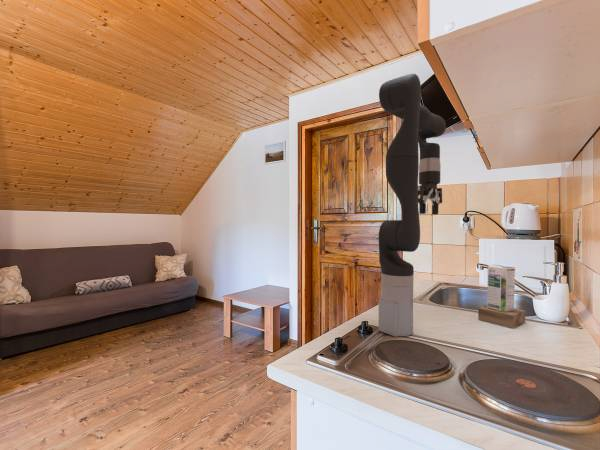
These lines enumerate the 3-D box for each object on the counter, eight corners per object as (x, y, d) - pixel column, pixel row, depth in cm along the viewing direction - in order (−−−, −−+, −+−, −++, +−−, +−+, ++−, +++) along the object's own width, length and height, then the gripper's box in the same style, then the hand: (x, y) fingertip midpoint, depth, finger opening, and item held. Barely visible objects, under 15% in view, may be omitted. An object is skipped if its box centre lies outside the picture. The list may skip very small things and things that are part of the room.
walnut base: (513, 328, 90) (513, 315, 90) (478, 319, 98) (478, 308, 98) (525, 322, 96) (525, 310, 96) (491, 314, 104) (491, 303, 104)
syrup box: (486, 307, 99) (486, 265, 99) (497, 305, 101) (498, 264, 101) (503, 312, 94) (504, 267, 94) (515, 310, 96) (515, 266, 96)
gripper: (428, 167, 104) (427, 213, 104) (449, 172, 112) (448, 214, 112) (409, 170, 110) (409, 213, 110) (430, 174, 118) (430, 214, 118)
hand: (429, 214), depth 111 cm, fingers open, 8 cm apart
